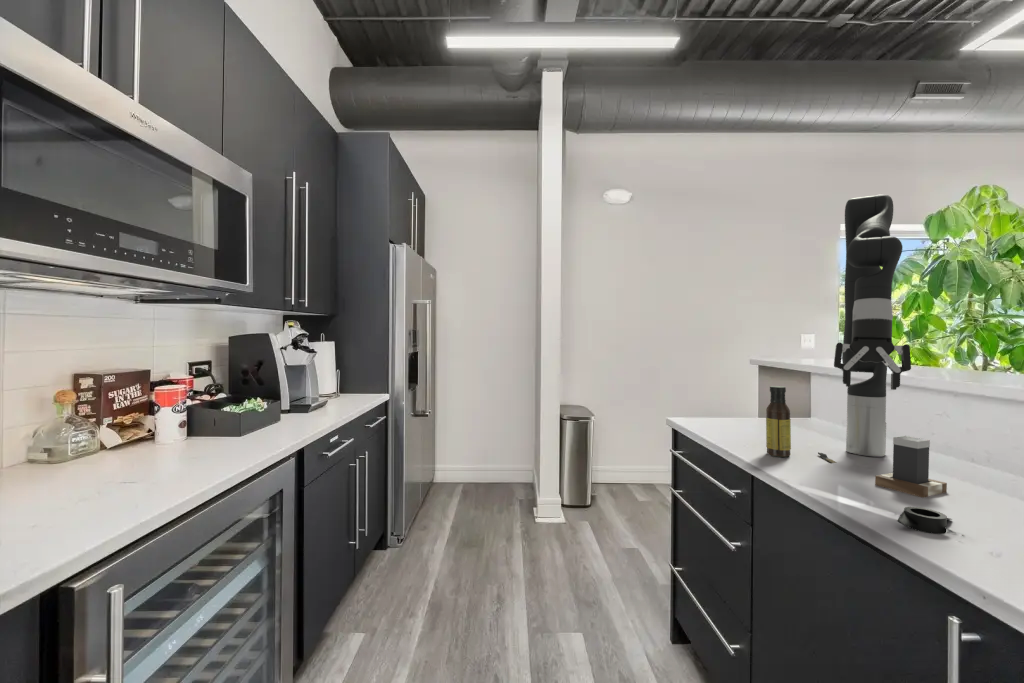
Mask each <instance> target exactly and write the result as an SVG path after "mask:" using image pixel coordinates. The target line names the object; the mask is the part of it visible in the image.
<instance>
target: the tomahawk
mask: <svg viewBox="0 0 1024 683" xmlns="http://www.w3.org/2000/svg"><path fill="white" fill-rule="evenodd" d="M817 454H818V456H820V458H821V459H822V460H823V461H826V462H828V464H835V463H836V464H837V461H835V460H833V459H831V458H829V457H828V456H827V454H826V453H822V452H817Z"/></svg>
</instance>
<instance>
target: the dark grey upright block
mask: <svg viewBox="0 0 1024 683" xmlns="http://www.w3.org/2000/svg"><path fill="white" fill-rule="evenodd" d="M930 440H931V439H924V438H921V437H920V438H918V437H915V436H909V435H908V436H907V435H902V436H894V437H893V438H892V441H893V442H892V446H893V449H892V452H893V453H892V454H893V455H892V456H893V458H892V473H893V478H895V479H899V480H903V481H907V482H911V483H915V484H922V483H927V482H928V479H929V476H930V475H929V473H930V472H929V468H930V466H929V465H930V447H931V442H930Z"/></svg>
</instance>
